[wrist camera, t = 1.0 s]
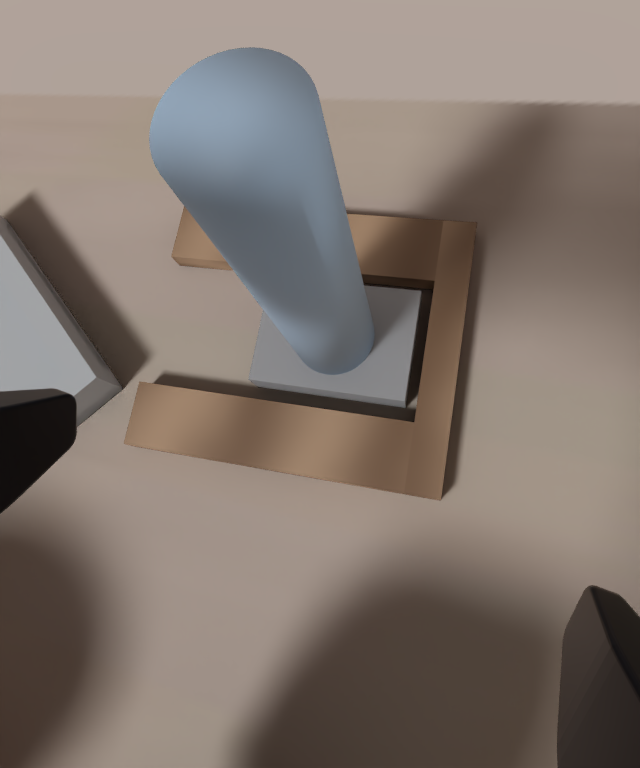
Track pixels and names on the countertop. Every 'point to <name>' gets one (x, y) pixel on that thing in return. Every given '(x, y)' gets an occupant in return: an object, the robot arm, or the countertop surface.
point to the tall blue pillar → (283, 226)
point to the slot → (322, 426)
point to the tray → (44, 335)
